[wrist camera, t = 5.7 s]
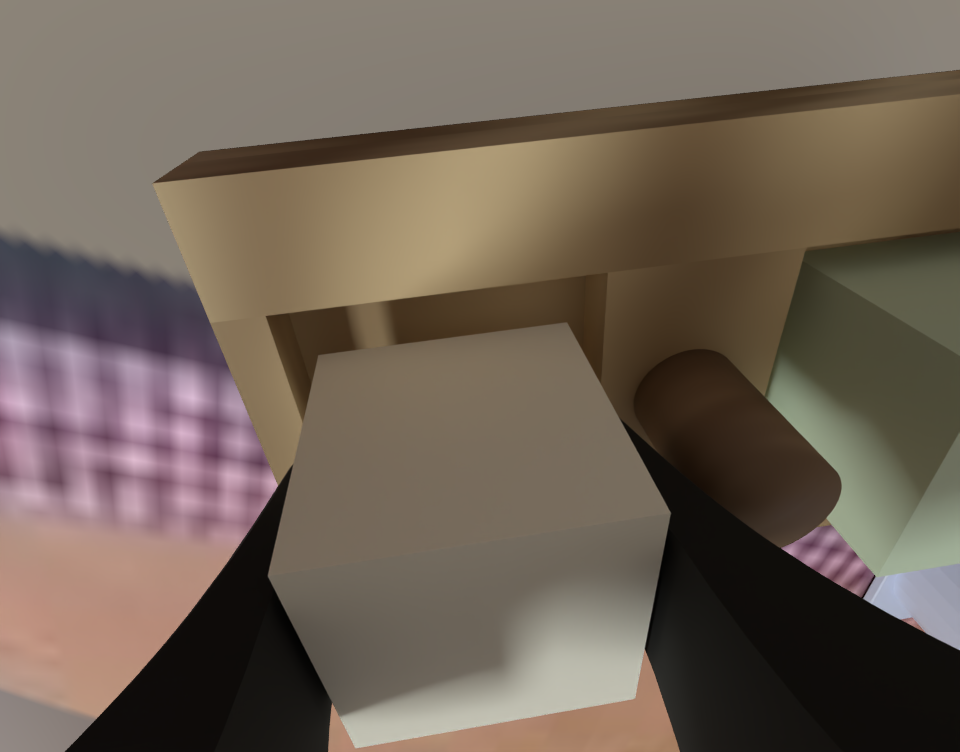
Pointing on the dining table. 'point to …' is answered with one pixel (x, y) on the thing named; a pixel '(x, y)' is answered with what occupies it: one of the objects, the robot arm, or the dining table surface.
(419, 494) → the cream block
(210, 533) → the dining table surface
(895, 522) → the sage block
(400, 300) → the pocket board
